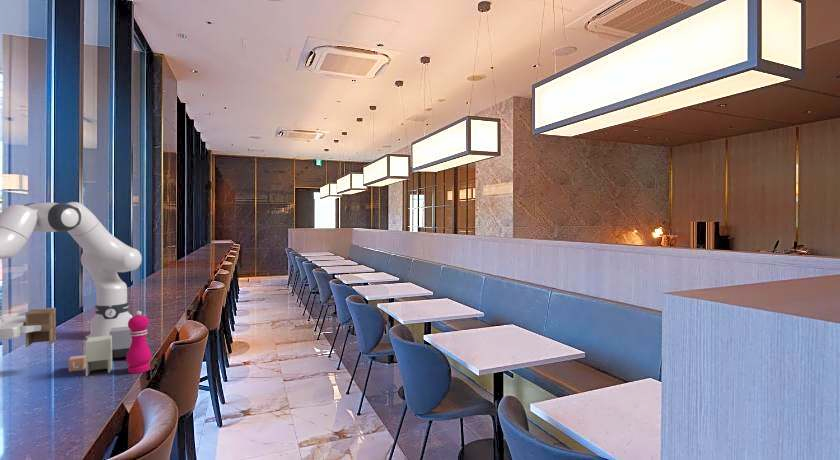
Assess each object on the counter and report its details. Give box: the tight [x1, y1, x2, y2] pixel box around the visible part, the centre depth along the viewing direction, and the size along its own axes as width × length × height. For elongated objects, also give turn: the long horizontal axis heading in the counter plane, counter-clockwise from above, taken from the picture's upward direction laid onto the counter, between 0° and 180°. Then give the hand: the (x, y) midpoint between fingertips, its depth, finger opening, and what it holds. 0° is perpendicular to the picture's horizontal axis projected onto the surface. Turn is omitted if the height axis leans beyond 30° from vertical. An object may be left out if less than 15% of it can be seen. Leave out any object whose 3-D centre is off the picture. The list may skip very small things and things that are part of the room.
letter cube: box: [67, 354, 86, 372], centre depth 152 cm, size 4×4×4 cm
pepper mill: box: [125, 310, 153, 375], centre depth 151 cm, size 7×7×20 cm
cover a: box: [25, 307, 57, 348], centre depth 149 cm, size 6×6×11 cm
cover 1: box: [84, 335, 113, 377], centre depth 150 cm, size 6×6×11 cm
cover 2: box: [109, 327, 132, 361], centre depth 163 cm, size 6×6×11 cm
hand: (44, 325), depth 149 cm, fingers closed on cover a, 6 cm apart
